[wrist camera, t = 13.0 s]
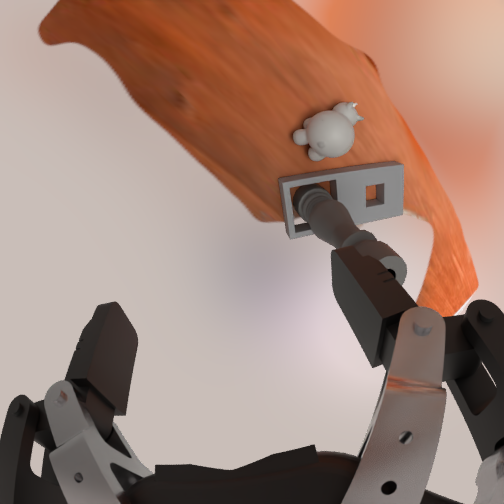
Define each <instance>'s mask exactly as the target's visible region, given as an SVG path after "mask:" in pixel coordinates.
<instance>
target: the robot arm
mask: <svg viewBox="0 0 504 504" xmlns="http://www.w3.org/2000/svg"><path fill="white" fill-rule="evenodd" d="M331 267H332V287H333V292H334V295H335V298H336V300H337V303H338V304H339V306H340V308H341V309H342V312H343V313H344V315H345V317H346V319H347V321H348V322H349V324H350V326H351V328H352V330H353V332H354V334H355V336H356V337H357V339H358V341H359V343H360V345H361V347H362V349H363V351H364V352H365V355H366V356H367V358H368V360H369V362H370V364H371V366H372V368H374V367H377V366H379V365H382V364H383V366H384V368H385V370H386V374H385V377H384V381H383V384H382V388H381V391H380V395H379V398H378V401H377V405H376V408H375V411H374V414H373V417H372V420H371V423H370V425H369V428H368V430H367V433H366V435H365V438H364V441H363V443H362V446H361V448H360V451H359V453H358V455H357V457H356V456H354V455H349V454H346V453H340V452H329V451H320V452H316V448H315V445H310V446H306V447H302V448H298V449H295V450H290V451H286V452H281V453H276V454H273V455H270V456H268V457H265V458H263V459H260V460H258V461H256V462H253V463H251V464H248V465H246V466H243V467H240V468H237V469H234V470H223V469H215V468H209V467H203V466H197V465H192V464H186V465H155V474H153V473H152V472H151V471H150V470H149V469H148V468H147V467H145V466H144V465H143V464H142V463H141V462H140V461H139V459H138V458H137V456H136V455H135V453H134V452H133V450H132V449H131V447H130V446H129V444H128V443H127V441H126V440H125V438H124V436H123V435H122V433H121V431H120V430H119V428H118V426H117V425H116V424H115V423H114V422H113V418H114V416H116V415H117V416H119V415H121V416H123V415H126V409H127V402H128V396H129V390H130V384H131V378H132V373H133V367H134V362H135V357H136V352H137V347H138V337H137V333H136V331H135V329H134V327H133V326H132V324H131V323H130V321H129V319H128V318H127V316H126V315H125V313H124V311H123V310H122V308H121V306H120V305H119V304H118V303H117V302H110V303H106V304H101V305H98V306H97V308H96V310H95V312H94V315H93V317H92V319H91V320H90V321H89V323H88V324H87V325H86V326H85V328H84V329H83V331H82V333H81V336H80V338H79V342H78V344H77V346H76V351H74V354H73V357H72V360H71V362H70V365H69V368H68V372H67V374H66V377H65V380H63V381H58V382H56V383H55V384H53V385H52V386H51V387H50V388H49V390H48V391H47V393H46V395H45V399H44V400H41V401H38V402H36V403H33V402H32V401H31V400H30V399H29V398H28V397H27V396H25V395H19V396H17V397H16V398H14V400H13V401H12V402H11V404H10V406H9V408H8V411H7V415H6V419H5V422H4V427H3V430H2V434H1V439H0V504H463V503H460V502H457V501H454V500H451V499H449V498H446V497H443V496H441V495H438V494H436V493H433V492H431V491H428V490H426V489H425V488H426V485H427V482H428V479H429V476H430V473H431V469H432V465H433V462H434V459H435V455H436V451H437V446H438V442H439V438H440V433H441V428H442V423H443V418H444V412H445V405H446V396H447V394H446V389H445V388H442V382H444V381H446V383H447V385H448V387H449V389H450V390H451V392H452V394H453V396H454V398H455V400H456V402H457V404H458V406H459V408H460V411H461V412H462V414H463V417H464V419H465V421H466V423H467V425H468V428H469V430H470V432H471V434H472V437H473V439H474V441H475V444H476V446H477V449H478V451H479V454H480V456H481V459H482V461H483V462H482V464H481V466H480V468H479V470H478V474H477V477H476V485H477V486H478V494H477V497H476V500H475V502H474V504H504V314H503V312H502V311H501V310H500V309H499V308H498V307H497V306H496V305H495V304H494V303H492V302H490V301H487V300H475V301H473V302H471V303H470V304H469V306H468V308H467V310H466V313H465V314H464V315H457V316H449V317H442V316H441V315H440V314H439V313H438V312H436V311H435V310H433V309H431V308H427V307H419V306H418V305H417V304H416V303H415V302H414V300H413V299H412V298H411V297H410V295H409V294H408V293H407V292H406V291H405V289H404V288H403V287H402V286H401V285H400V283H399V282H398V281H397V280H396V279H394V276H393V275H392V274H391V273H390V272H388V270H387V268H386V267H385V266H384V265H383V264H382V263H381V262H380V261H379V260H377V259H375V258H373V257H371V256H369V255H367V256H363V257H362V255H361V254H360V253H359V252H358V251H357V250H356V248H355V247H354V246H352V245H350V246H346V247H343V248H339V249H335V250H332V252H331ZM482 362H483V364H484V365H485V367H486V368H487V370H488V372H489V373H490V375H491V377H492V378H493V380H494V382H495V384H496V386H495V385H494V383H493V381H492V379H491V378H490V376H489V374H488V373H487V371H486V369H485V368H484V366H483V365H482ZM34 441H35V442H37V443H38V444H40V445H41V446H43V447H44V448H45V452H44V458H43V466H42V475H41V478H40V477H38V476H37V475H35V474H34V473H33V471H32V470H31V467H30V460H31V453H32V447H33V442H34Z"/></svg>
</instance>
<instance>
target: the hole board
mask: <svg viewBox="0 0 504 504" xmlns="http://www.w3.org/2000/svg"><path fill="white" fill-rule="evenodd" d="M278 180H279V187H280V193H281V200H282V206H283V213H284V220H285V226H286V233H287V234H288V236H289V238H290V239H295V238H299V237H303V236H308V235H313V234H314V233H313V232H312V230H311V227H310V224H309V223H308V222H307V223H302V224H298V225H294V218H293V210H292V203H291V195H290V188H291V187H296V186H301V185H307V184H313V183H318V182H324V181H330V188H331V196H332V198H333V200H336V201H339V202H341V203H342V204H343V205H344V206H345V207H346V208H347V209H348V211H349V213H350V215H351V217H352V219H353V221H354V223H355V225H359V224H363V223H368V222H373V221H377V220H382V219H386V218H391V217H396V216H400V215H403V194H404V165H403V164H401V163H398V162H396V161H390V162H382V163H373V164H365V165H358V166H350V167H343V168H336V169H330V170H323V171H317V172H311V173H305V174H299V175H294V176H288V177H283V178H278ZM370 185H376V199H372V200H367V201H366V186H370Z"/></svg>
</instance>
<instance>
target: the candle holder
mask: <svg viewBox="0 0 504 504" xmlns="http://www.w3.org/2000/svg"><path fill="white" fill-rule="evenodd" d="M293 205H294V208H295V210H296V211H297V213H298V214H299V215H300V216H301V218H302V219H303V220H304V221H306V222H308V223H309V224H310V227H311V230H312V232H313V233H314V234H315V235H316V236H317V237H318V238H319V239H321V240H323V241H325V242H327V243H329V244H330V245H332V246H334V247H335V248H336V249H339V248H343V247H346V246H350V245H352V246H354V247H355V248H356V250H357V251H358V252H359V253H360V254H361V255H362V257H363V256H367V255H369V256H371V257H373V258H375V259H377V260H379V261H380V262H381V263H382V264H383V265H384V266H385V267H386V268H387V270H388V272H390V273H391V274H392V275H393V276H394V279H396V280H397V281H398V282H399V283H400V285H401V286H402V285H403V283H404V281H405V278H406V274H407V267H406V264H405V262H404V260H403V259H402V258H401V257H400V256H399V255H398V254H397V253H396V252H395V251H394V250H393V249H391V248H390V247H389V246H388V245H387V244H385V243H383V242H381V241H377V239H376V238H375V236H374V235H373V234H372V233H370V232H368V231H366V230H359V229H358V228H357V227H356V225H355V223H354V221H353V219H352V217H351V215H350V213H349V211H348V209H347V208H346V207H345V206H344V205H343V204H342V203H341V202H339V201H336V200H333V198H332V196H331V195H330V194H329V193H328V192H327V191H326V190H325V189H324V188H322V187H321V186H319V185H317V184H315V183H313V184H307V185H302V186H301V187H300V188H299V189H298V190H296V192H295V195H294V197H293Z"/></svg>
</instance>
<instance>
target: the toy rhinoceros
mask: <svg viewBox="0 0 504 504" xmlns="http://www.w3.org/2000/svg"><path fill="white" fill-rule="evenodd" d="M356 105H357V103H353V102H349V103H347V102H341V103H339V104H337V105H336V106H335V107H334V108H333V110H332V111H322V112H319V113H317V114H316V115H314V116H313V117H312V118H308V119H306V120H305V121H304V123H303V126H304V129H298V130H296V131H295V132H294V133H293V140H294V142H295V143H296V144H297V145H306V144H308V143H309V145H310V146H311V147H310V148H309V150H308V155H309V158H310V159H311V160H313V161H320V160H322V159H324V158H325V157H329V158H334V157H339V156H342V155H344V154H345V153H347V152H348V151H349V150H350V148H351V147H352V145H353V142H354V137H355V134H354V129H353V126H354V125H355V124H356V122H357V121H361V120H364V118H363V117H361V116H359V115H358V114H357V111H356V109H355V108H354V107H355V106H356Z"/></svg>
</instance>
